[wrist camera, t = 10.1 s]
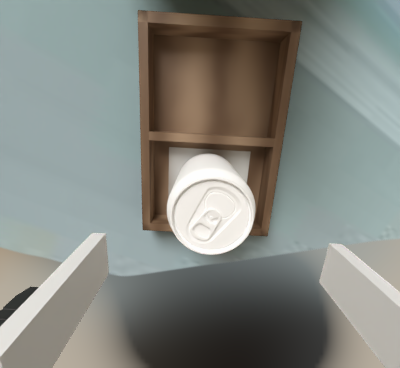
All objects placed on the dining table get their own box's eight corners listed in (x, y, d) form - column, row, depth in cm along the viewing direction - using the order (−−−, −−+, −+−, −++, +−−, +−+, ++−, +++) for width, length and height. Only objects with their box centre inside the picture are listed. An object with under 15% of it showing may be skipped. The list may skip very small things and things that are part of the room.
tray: (149, 218, 31) (142, 230, 28) (146, 26, 25) (137, 10, 21) (260, 224, 32) (267, 236, 28) (288, 35, 25) (302, 21, 21)
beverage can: (247, 174, 29) (279, 206, 17) (213, 218, 31) (222, 274, 19) (199, 140, 27) (199, 151, 16) (167, 188, 29) (146, 229, 18)
